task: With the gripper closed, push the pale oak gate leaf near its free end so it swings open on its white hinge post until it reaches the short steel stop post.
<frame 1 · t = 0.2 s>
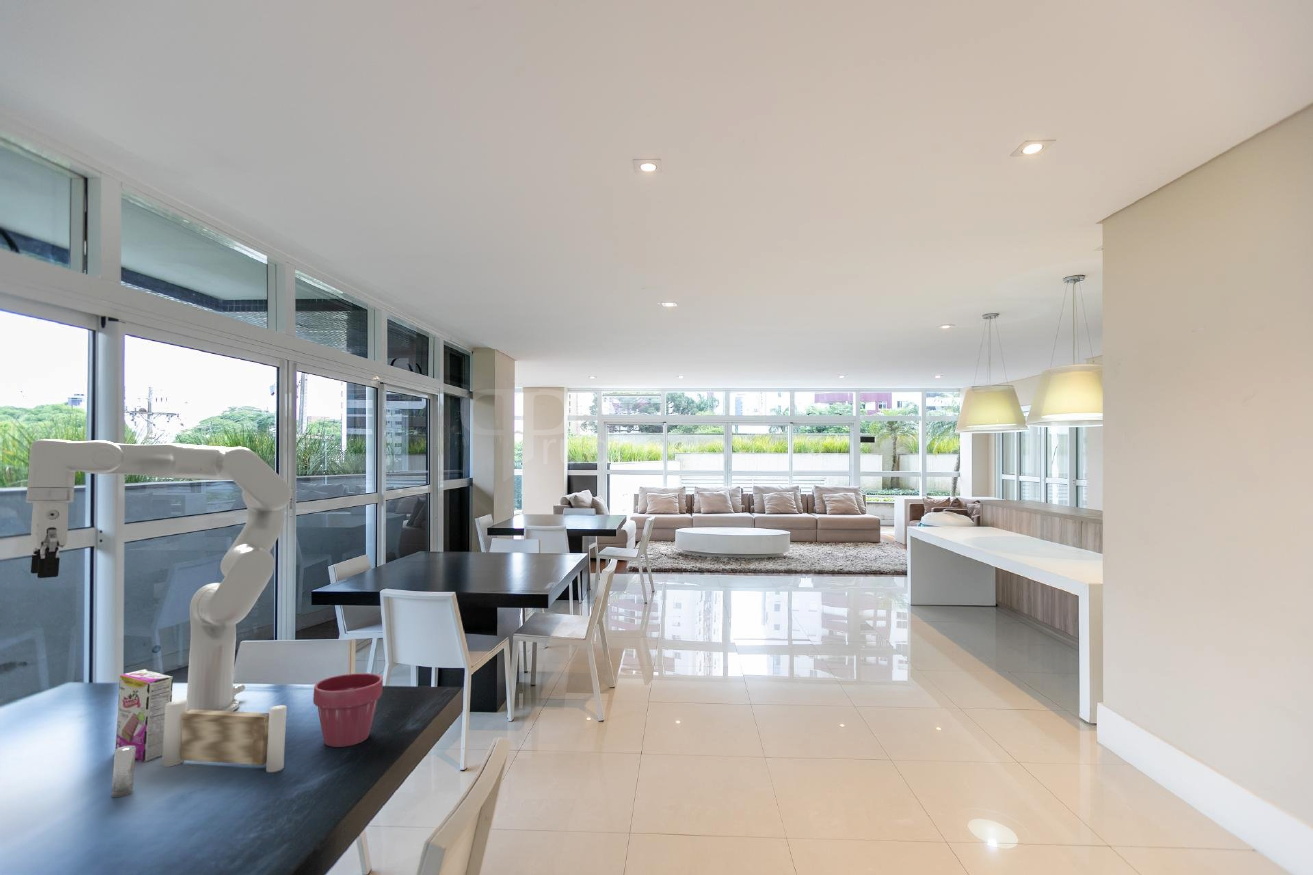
hand: (44, 574, 138), 37 cm above the table, tool pointing down, fingers open, 9 cm apart
gate: (225, 736, 130), point 6 cm above the table, hinge at 0.0°
candy bar box: (141, 754, 135), on the table
plant pot: (346, 739, 144), on the table
stop post: (122, 793, 118), on the table
gate posts: (172, 762, 131), on the table
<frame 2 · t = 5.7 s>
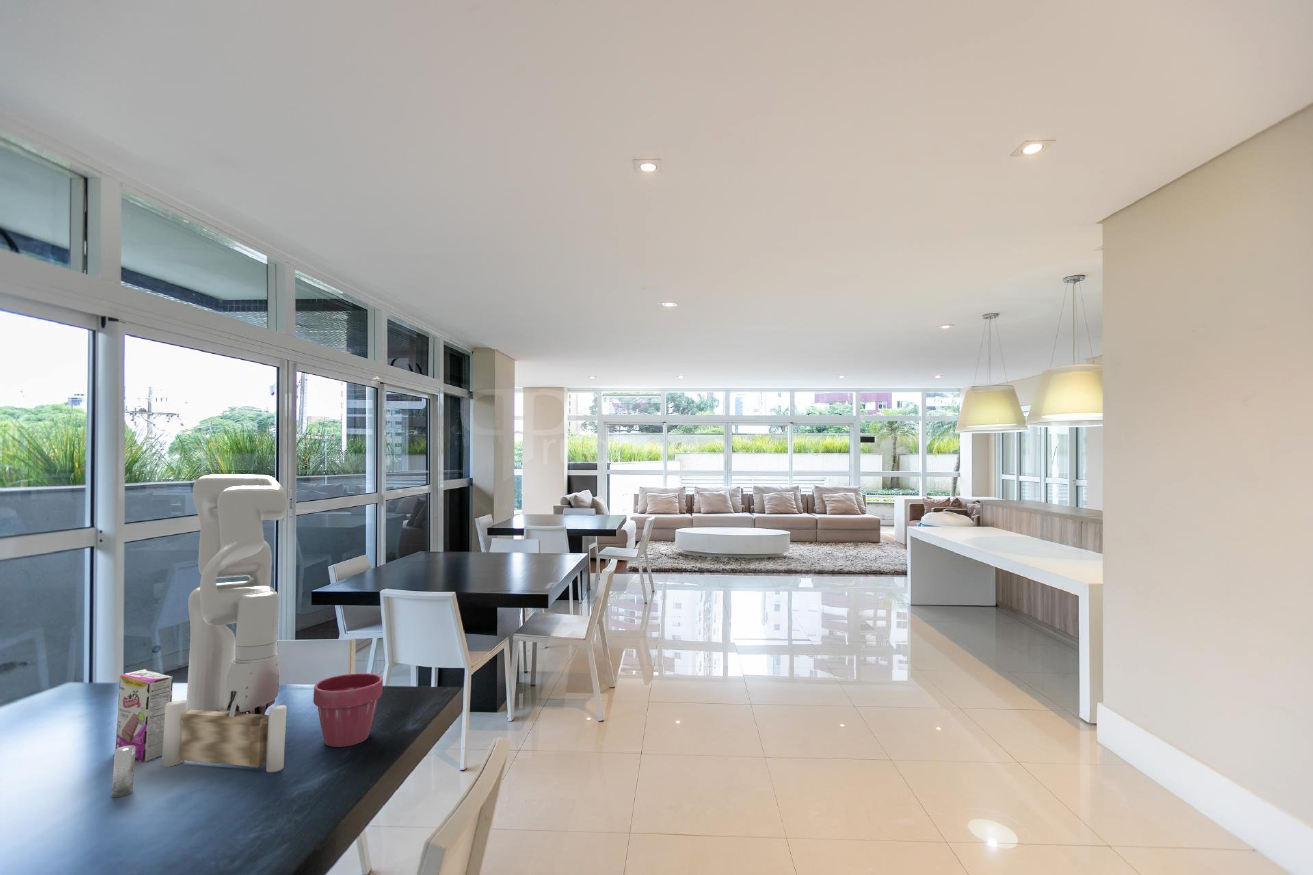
hand: (250, 740, 134), 4 cm above the table, tool pointing down, fingers closed
gate: (223, 737, 130), point 6 cm above the table, hinge at 2.6°, touching gripper
everything else where it was.
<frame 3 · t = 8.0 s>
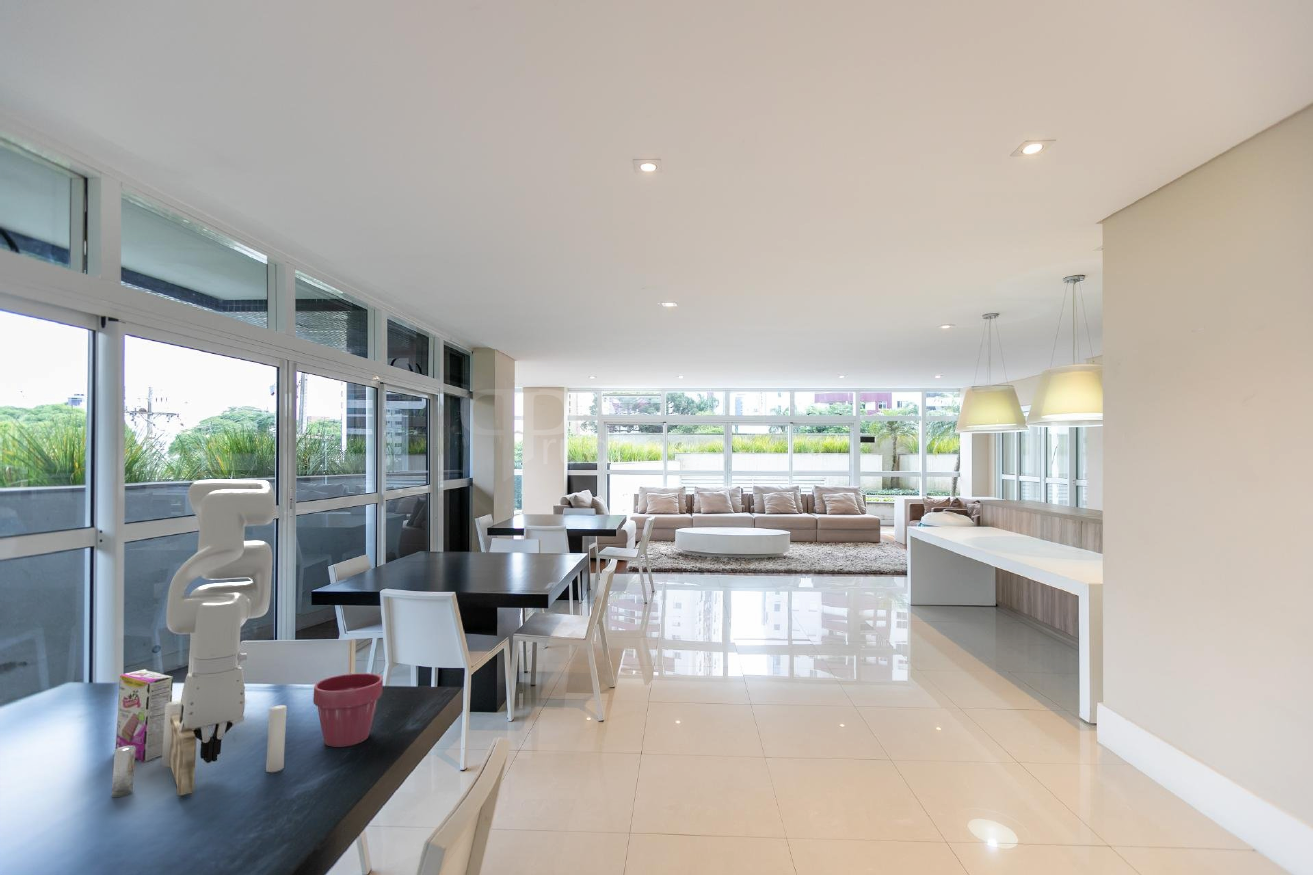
hand: (210, 759, 124), 4 cm above the table, tool pointing down, fingers closed
gate: (181, 751, 123), point 6 cm above the table, hinge at 41.8°, touching gripper
everything else where it was.
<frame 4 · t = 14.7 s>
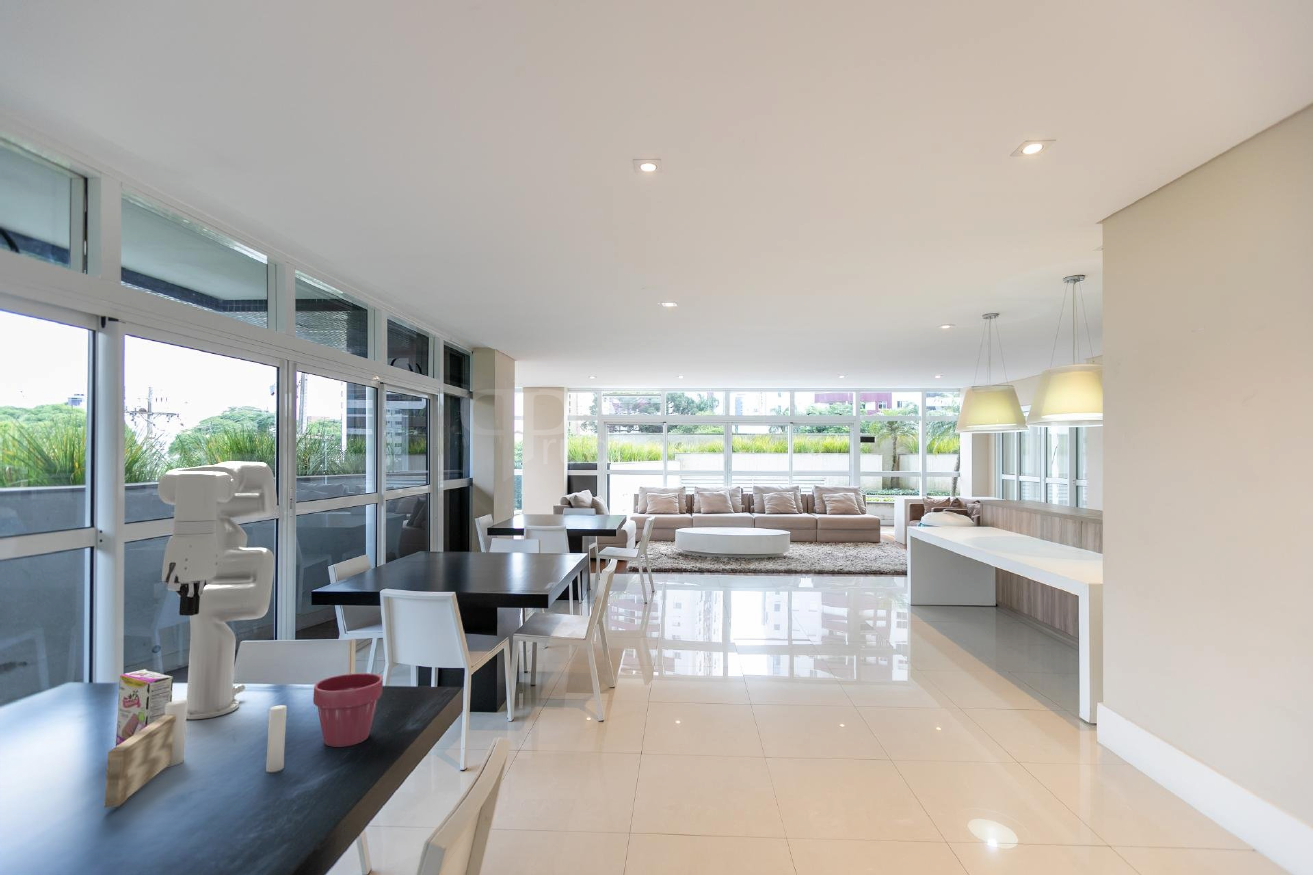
hand: (189, 614, 137), 29 cm above the table, tool pointing down, fingers closed
gate: (142, 757, 120), point 6 cm above the table, hinge at 71.9°, touching stop post
everything else where it was.
at the end: gate at +72° (first picture: +0°) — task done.
